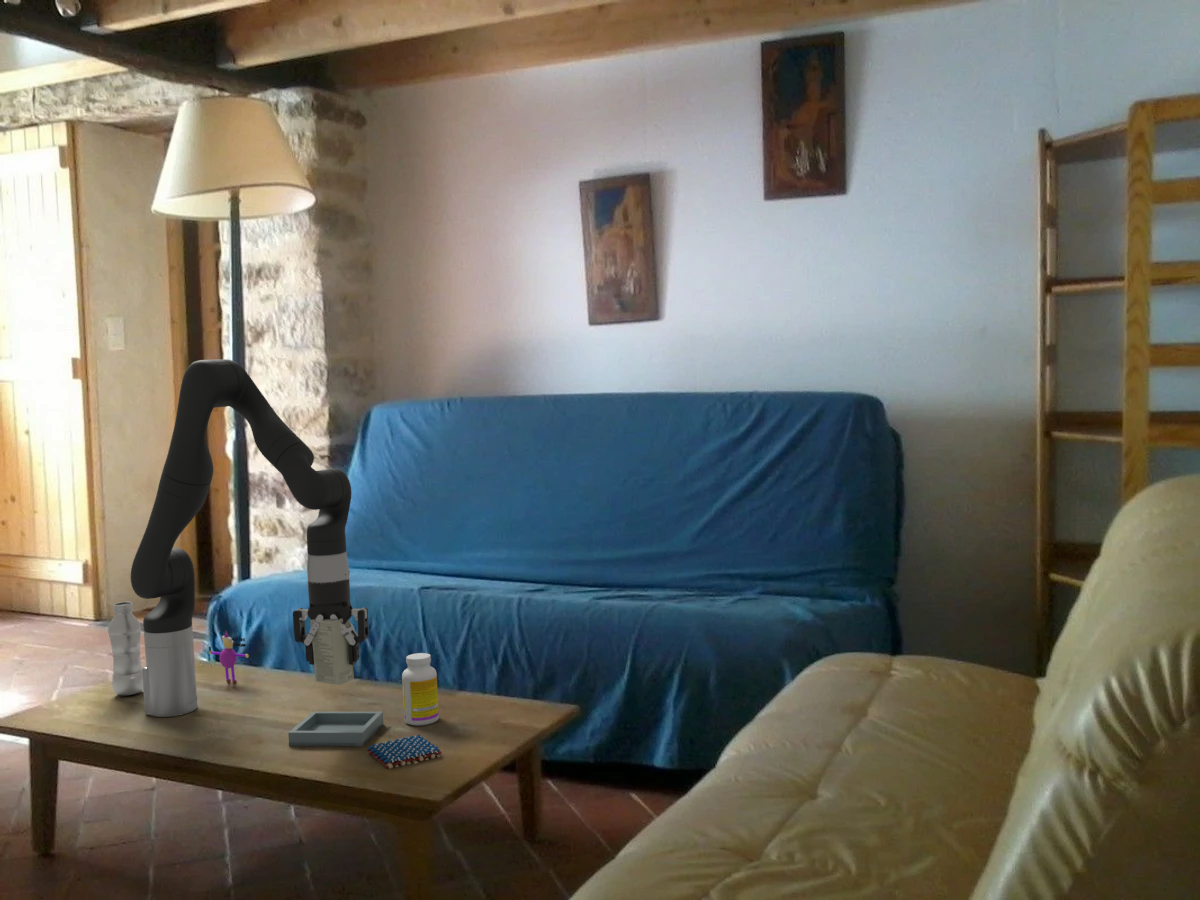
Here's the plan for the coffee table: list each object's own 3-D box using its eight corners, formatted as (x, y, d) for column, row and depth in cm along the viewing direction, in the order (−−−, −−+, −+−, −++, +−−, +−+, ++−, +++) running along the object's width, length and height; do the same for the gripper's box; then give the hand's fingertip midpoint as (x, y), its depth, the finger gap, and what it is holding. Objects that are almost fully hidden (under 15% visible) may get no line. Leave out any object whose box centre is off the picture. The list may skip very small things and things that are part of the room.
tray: (289, 745, 197) (288, 732, 197) (313, 724, 209) (313, 711, 209) (362, 746, 196) (362, 732, 195) (383, 724, 208) (382, 711, 207)
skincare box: (354, 679, 202) (351, 616, 201) (337, 686, 198) (334, 621, 197) (330, 675, 205) (326, 613, 204) (312, 682, 201) (309, 618, 200)
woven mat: (444, 759, 189) (443, 747, 189) (387, 773, 183) (386, 761, 183) (421, 742, 198) (420, 732, 198) (365, 755, 192) (365, 744, 192)
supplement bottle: (446, 720, 209) (443, 655, 208) (418, 729, 204) (415, 662, 203) (424, 713, 213) (421, 649, 212) (397, 722, 209) (394, 657, 208)
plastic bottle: (138, 698, 230) (132, 606, 229) (107, 699, 230) (100, 607, 229) (151, 689, 237) (145, 599, 235) (120, 690, 237) (114, 600, 235)
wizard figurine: (254, 683, 239) (251, 630, 238) (244, 687, 236) (241, 633, 235) (215, 679, 243) (211, 626, 242) (205, 683, 240) (201, 630, 239)
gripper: (283, 581, 197) (288, 669, 198) (358, 580, 196) (363, 669, 197) (299, 573, 205) (304, 658, 206) (372, 572, 203) (376, 658, 204)
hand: (333, 663), depth 201 cm, fingers closed on skincare box, 7 cm apart
